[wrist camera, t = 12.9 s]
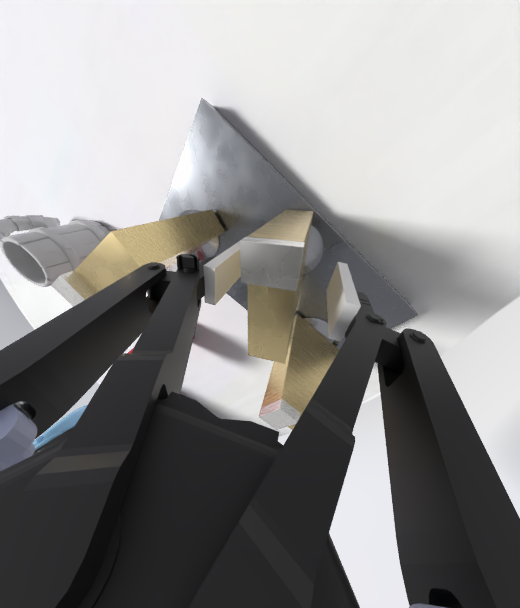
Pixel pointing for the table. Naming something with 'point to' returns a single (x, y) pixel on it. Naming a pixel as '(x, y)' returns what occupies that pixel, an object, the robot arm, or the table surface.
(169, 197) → the plate
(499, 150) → the table surface
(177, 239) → the tan upright panel
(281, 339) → the tan grey-ended block
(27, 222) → the mug
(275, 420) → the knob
